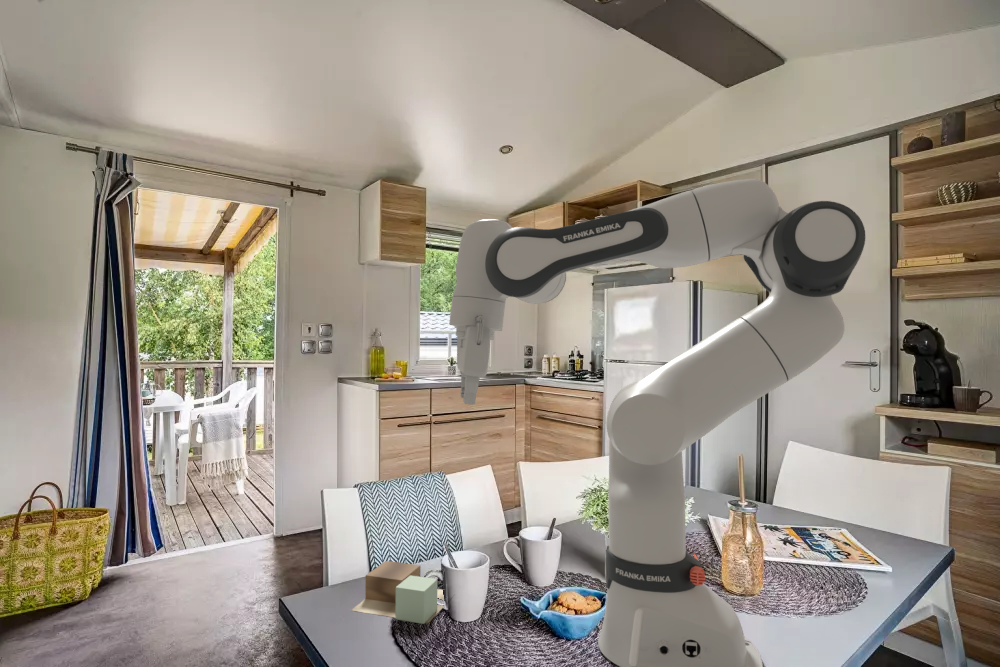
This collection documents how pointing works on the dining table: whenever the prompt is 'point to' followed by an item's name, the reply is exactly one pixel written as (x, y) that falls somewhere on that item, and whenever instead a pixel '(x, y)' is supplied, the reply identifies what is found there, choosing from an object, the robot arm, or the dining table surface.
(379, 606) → the birch board
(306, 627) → the dining table surface
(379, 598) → the walnut base
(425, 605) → the sage cube
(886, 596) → the dining table surface
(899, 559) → the dining table surface
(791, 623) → the dining table surface
